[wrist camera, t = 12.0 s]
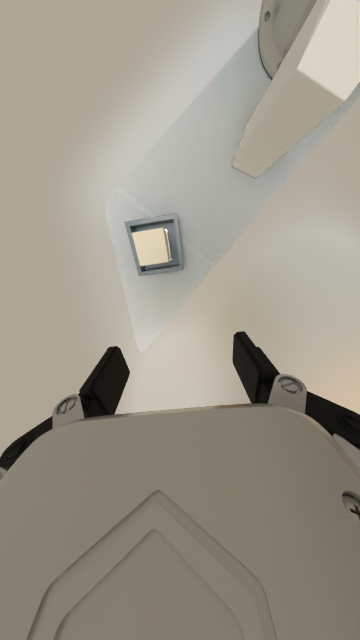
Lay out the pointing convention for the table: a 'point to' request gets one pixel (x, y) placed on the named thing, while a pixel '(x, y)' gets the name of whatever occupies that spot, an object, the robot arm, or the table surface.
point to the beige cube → (151, 246)
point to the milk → (305, 85)
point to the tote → (172, 226)
